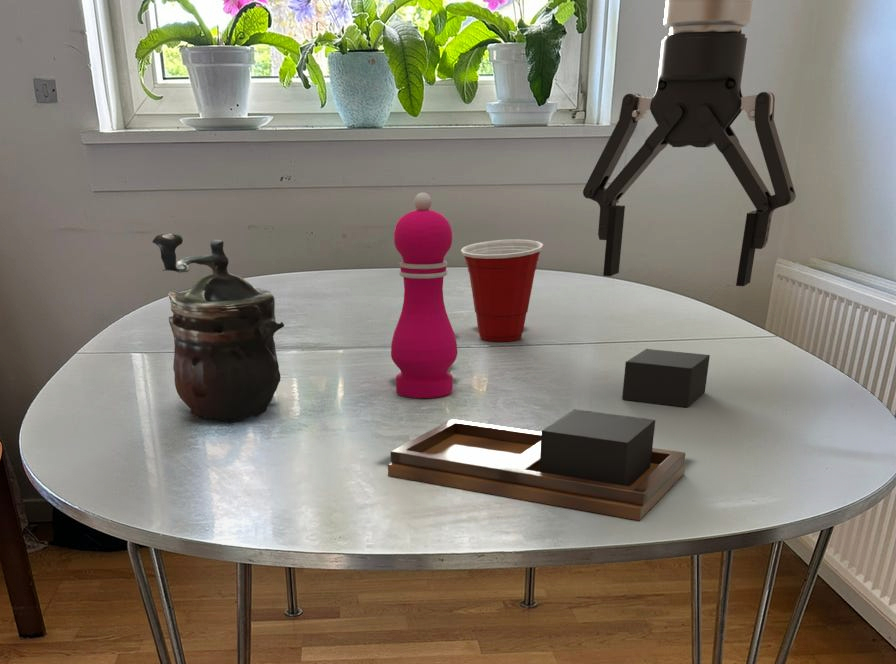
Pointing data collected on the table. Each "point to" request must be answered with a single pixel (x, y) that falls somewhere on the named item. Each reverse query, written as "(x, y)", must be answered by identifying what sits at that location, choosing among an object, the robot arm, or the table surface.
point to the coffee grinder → (221, 338)
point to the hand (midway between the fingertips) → (674, 279)
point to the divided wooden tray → (525, 470)
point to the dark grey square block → (665, 377)
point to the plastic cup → (501, 285)
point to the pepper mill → (423, 305)
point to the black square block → (598, 447)
